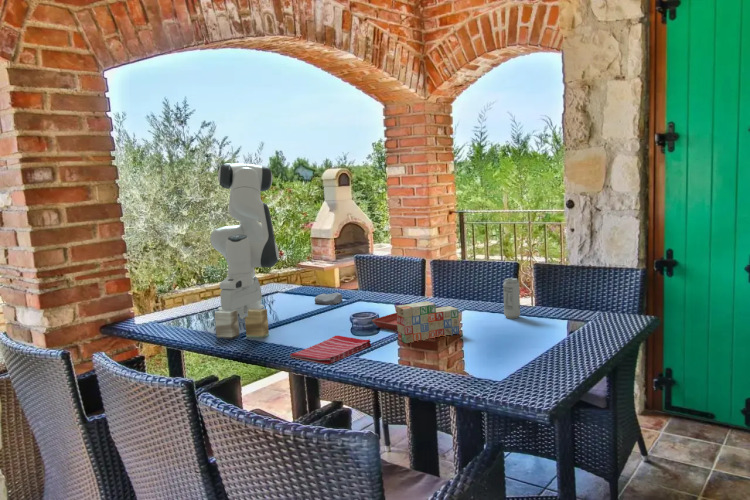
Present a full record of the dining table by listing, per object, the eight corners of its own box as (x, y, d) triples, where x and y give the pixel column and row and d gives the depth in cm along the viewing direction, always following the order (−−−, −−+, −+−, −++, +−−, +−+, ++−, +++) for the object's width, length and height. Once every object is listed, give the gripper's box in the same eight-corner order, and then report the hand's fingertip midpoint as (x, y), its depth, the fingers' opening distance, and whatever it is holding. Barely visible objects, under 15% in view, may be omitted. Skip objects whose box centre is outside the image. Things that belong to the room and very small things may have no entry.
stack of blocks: (451, 330, 220) (449, 297, 219) (459, 334, 215) (458, 300, 213) (397, 339, 212) (395, 305, 211) (405, 343, 207) (403, 308, 205)
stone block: (336, 308, 278) (344, 300, 287) (335, 299, 276) (342, 290, 285) (313, 309, 281) (321, 300, 290) (311, 299, 280) (319, 291, 289)
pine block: (232, 339, 225) (229, 313, 224) (216, 338, 228) (214, 312, 227) (239, 336, 229) (237, 310, 228) (224, 335, 232) (222, 309, 231)
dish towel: (373, 346, 207) (373, 339, 207) (330, 366, 188) (329, 357, 187) (334, 341, 217) (333, 334, 216) (289, 359, 197) (288, 351, 197)
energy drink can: (523, 317, 233) (522, 279, 232) (509, 319, 231) (508, 281, 229) (514, 314, 239) (513, 277, 237) (501, 316, 237) (500, 278, 235)
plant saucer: (437, 324, 232) (437, 316, 231) (407, 335, 219) (407, 326, 218) (401, 318, 244) (401, 310, 244) (371, 328, 231) (370, 320, 231)
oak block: (262, 338, 224) (260, 311, 223) (246, 337, 227) (244, 311, 226) (268, 335, 228) (266, 309, 227) (253, 334, 231) (251, 308, 230)
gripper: (250, 275, 229) (253, 311, 231) (216, 285, 210) (219, 324, 212) (264, 275, 226) (267, 311, 228) (231, 285, 208) (234, 324, 209)
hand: (243, 317), depth 220 cm, fingers closed
